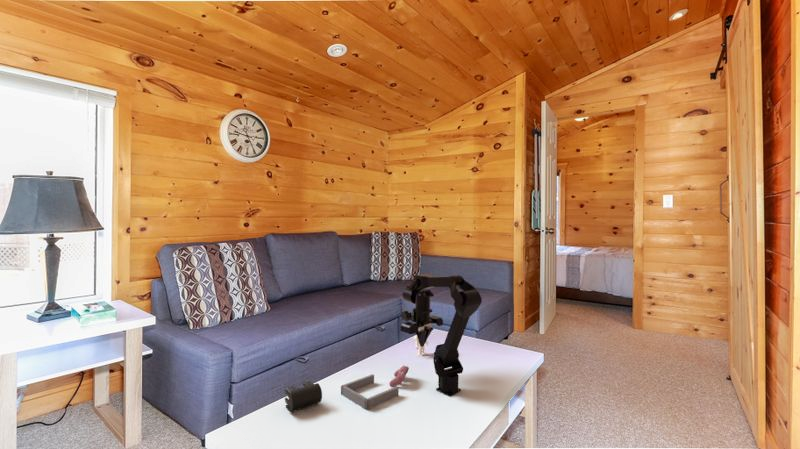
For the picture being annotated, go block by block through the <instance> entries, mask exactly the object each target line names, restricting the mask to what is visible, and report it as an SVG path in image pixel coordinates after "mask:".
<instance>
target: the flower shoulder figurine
mask: <svg viewBox="0 0 800 449" xmlns="http://www.w3.org/2000/svg"><path fill="white" fill-rule="evenodd" d="M413 340H414V342H415V349H416V350H418V351H417V356H419V357H423V355H426V354H427V353H426V352H425V345H427V346H429V342H428V339H427V340H426V342H425V345H424V346H420V344H419V341H418V337H417V335H415V336H413Z"/></svg>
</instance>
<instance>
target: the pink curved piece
mask: <svg viewBox="0 0 800 449" xmlns="http://www.w3.org/2000/svg"><path fill="white" fill-rule="evenodd" d="M409 370H410V367H409V366H407V365H402V366H401V367H399V368H398V369H397V370H396V371H395V372H394V374H393V375H394V378H392V379H391V380H390V381H389V386H390V387H391V388H394V387H396V386H397V387H398V386H399V385H401V384H402V383H403V382H405V381H407V378H406V376H407V374H408V371H409Z"/></svg>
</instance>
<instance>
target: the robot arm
mask: <svg viewBox="0 0 800 449" xmlns="http://www.w3.org/2000/svg"><path fill="white" fill-rule="evenodd" d="M436 287H438V288H439V287H440V288H441V287H443V288H444V287H445V288H446V287H447V288H449V290H450V297H451V298H452V299H453V301H454V304H453V306H454V310H455V313H454V315H453V318H452V321H451V324H450V326H449V329H448V332H447V335H446V338H445V340H444V343H441V344H437V345H436V347H435V350H434V352H433V353H432V354H433V365H434V366H433V367H434V371H435V374H436V375H437V377H438V382H437V383H438V385H437V386H438V387H436V389H435V391H437V392H440V393H441V394H443V395H446V396H448V397H452V396H454V395H456V394H457V393H459V392H461V391H462V389H461V388H460V387H459V378H460V377H459V375H460V374H462V373H463V371H464V367H463V365H462V363H461V361H460V358H459V357H460V354H459V350H458V348H459V346H460V343H461V342H462V341H461V340H462V339H463V338H462V337H463V336H464V333H465V330H466V328H467V324H468V323H469V320H470V317H471V316H472V315H473V314H475V312H477V311H478V309H479V307H480V306H481V304H482V296H481V294H480V292H479V291H478V290H477V289H476V288H475V286H474V285H472V284H471V283H470V282H468V281H466V280H465V279H464V277H463V276H462V275H460V274H456V275H447V276H446V275H445V276H444V275H441V276H440V275H439V276H438V275H437V276H436V275H434V274H431V273H423V274H415V275H414V277H413V279H412V281H411V283H410V284H407V285H406V288H404V290H403V292H402V294H401V296H402V299H403V300H404V301H406V302H408V303H411V304H414V305H415V307H413V308H412V311H410V312H409V311H408V310H405V311H401V319H402V320H403V321H405V322H403V323H401V324H400V332H403V333H406V334H408V335H414V334H416V335H417V337H418V341H419V344H420V346H424V347H425V345H426V343H425V342H426V340H427V341H428V338H429V336H430V334H431V333H432V331H433V330H434V327H432V325H434V324H436V326H437V327H441V326H443V325H444V319H443V318H442V317H441V316H437V315H431V313H432V312H433V309H432V308H431V297H434V296H435V295H434V293H433V292H432V291H431V290H430V289H433V288H436ZM457 287H458V288H459V289H461V290H462V291H459V290H458V289H457ZM416 335H415V336H416ZM419 344H418V345H419Z"/></svg>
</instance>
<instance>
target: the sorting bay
mask: <svg viewBox="0 0 800 449" xmlns="http://www.w3.org/2000/svg"><path fill="white" fill-rule="evenodd" d="M374 383H375V374H370V375H367V376H364V377H361V378H358V379H356V380H353V381H350V382H348V383H345V384H342V385H341V386H340V396H341V395H342V396H343V397H344V398H346V399H348V400H349V401H351V402H353V403H354V404H355V405H358V406H360V407H361V408H363V409H364V410H366V411H368V410H370V409H372V408H375V407H377V406H379V405H381V404H383V403H385V402H388V401H391V400H393V399H394V398H397V397H399V389H400V388H399V387H398V385H397V386H395V387H391V388H389V389H387V390H385V391H381V392H379V393H377V394H375V395H373V396H370V397H365V396H364V395H362V394H360V393H358V392H357V390H361V389H363V388H365V387H369V386H370V385H373V384H374Z"/></svg>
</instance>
